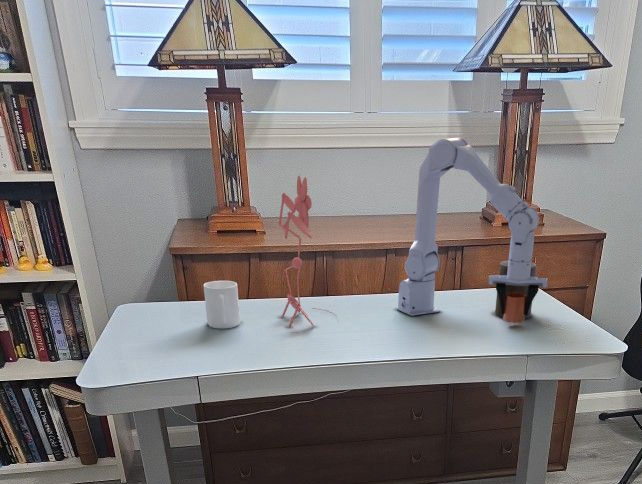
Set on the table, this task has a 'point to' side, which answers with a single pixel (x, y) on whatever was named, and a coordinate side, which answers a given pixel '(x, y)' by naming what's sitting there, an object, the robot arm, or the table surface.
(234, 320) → the cup
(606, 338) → the table surface
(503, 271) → the pillar candle
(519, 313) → the terracotta pipe segment
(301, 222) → the pink stick figure
